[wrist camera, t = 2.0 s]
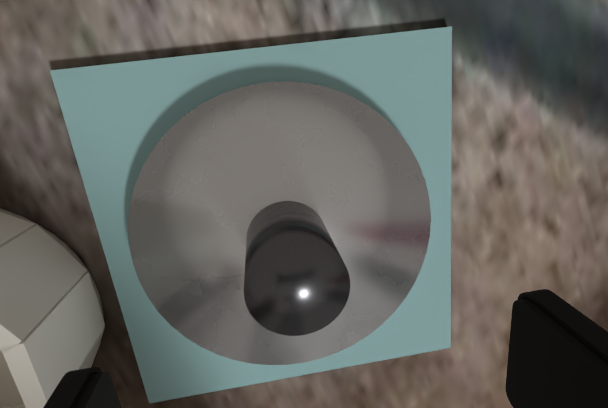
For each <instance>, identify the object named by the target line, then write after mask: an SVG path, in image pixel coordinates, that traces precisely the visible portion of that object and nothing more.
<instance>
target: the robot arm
mask: <svg viewBox="0 0 608 408" xmlns="http://www.w3.org/2000/svg"><path fill="white" fill-rule="evenodd" d="M506 393H507V397H508V399H509V401H510V403H511V404H512V406H513V407H514V408H608V332H607V331H606V330H604V329H603V328H602V327H600V326H599V325H597V324H596V323H595V322H593V321H592V320H590V319H589V318H588V317H586V316H585V315H584V314H582V313H581V312H579V311H578V310H577V309H575V308H574V307H572V306H571V305H570V304H568V303H567V302H566V301H564V300H563V299H561V298H560V297H559V296H557V295H556V294H555V293H553V292H552V291H550V290H547V289H542V290H537V291H531V292H525V293H522V294H520V295H519V297H518V300H517V301H515V302H514V303H513V308H512V319H511V331H510V343H509V354H508V366H507V378H506ZM43 408H121V405H120V403H119V400H118V397H117V394H116V391H115V388H114V385H113V383H112V380H111V377H110V375H109V374H108V373H107V372H103V373H102V371H101V369H100V368H98V367H91V368H85V369H79V370H73V371H69V372H67V373H66V374H65V375H64V376H63V377H62V379H61V381H60V382H59V384H58V385H57V387H56V388H55V390H54V392H53V393H52V395H51V396H50V398H49V399H48V401H47V403H46V404H45V406H44V407H43Z"/></svg>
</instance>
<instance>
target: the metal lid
mask: <svg viewBox="0 0 608 408" xmlns="http://www.w3.org/2000/svg"><path fill="white" fill-rule="evenodd" d="M430 225H431V211H430V199H429V194H428V190H427V186H426V181H425V178H424V176H423V173H422V170H421V168H420V165H419V163H418V161H417V159H416V157H415V155H414V154H413V152H412V150H411V148H410V147H409V145H408V144H407V143H406V141H405V140H404V139H403V137H402V136H401V135H400V133H399V132H398V131H397V130H396V129H395V128H394V127H393V126H392V125H391V124H390V123H389V122H388V121H387V120H386V119H385V118H384V117H383V116H382V115H380V114H379V113H378V112H376V111H375V110H374V109H372V108H371V107H370V106H368V105H366V104H365V103H363V102H361V101H359V100H357V99H356V98H354V97H352V96H350V95H348V94H345V93H342V92H340V91H337V90H334V89H332V88H328V87H324V86H320V85H315V84H311V83H302V82H291V81H281V82H264V83H259V84H253V85H248V86H243V87H240V88H237V89H234V90H231V91H228V92H225V93H222V94H220V95H218V96H216V97H214V98H212V99H210V100H208V101H206V102H204V103H202V104H200V105H199V106H198V107H196V108H195V109H193V110H192V111H190V112H189V113H187V114H186V115H185V116H183V117H182V118H181V119H180V120H179V121H178V122H177V123H176V124H174V125H173V126H172V127H171V128H170V129H169V130H168V131H167V132H166V133H165V135H164V136H163V137H162V138H161V139H160V141H159V142H158V143H157V144H156V146H155V147H154V148H153V150H152V151H151V153H150V155H149V156H148V158H147V160H146V161H145V163H144V165H143V167H142V169H141V171H140V174H139V176H138V179H137V181H136V184H135V186H134V190H133V194H132V199H131V203H130V209H129V219H128V235H129V247H130V252H131V257H132V262H133V265H134V268H135V271H136V274H137V276H138V279H139V282H140V284H141V286H142V287H143V289H144V291H145V293H146V295H147V297H148V298H149V300H150V301H151V303H152V304H153V305H154V307H155V308H156V310H157V311H158V312H159V313H160V315H161V316H162V317H163V318H164V319H165V320H166V321H167V322H168V323H169V324H170V325H171V326H172V327H173V328H174V329H176V330H177V331H178V332H179V333H181V334H182V335H183V336H184V337H186V338H187V339H189V340H190V341H192V342H194V343H195V344H197V345H198V346H200V347H202V348H204V349H206V350H208V351H211V352H213V353H215V354H217V355H220V356H223V357H226V358H229V359H232V360H236V361H241V362H246V363H251V364H261V365H289V364H297V363H304V362H309V361H313V360H317V359H321V358H324V357H327V356H329V355H332V354H335V353H338V352H340V351H342V350H344V349H346V348H348V347H350V346H352V345H354V344H356V343H357V342H359V341H360V340H362V339H364V338H365V337H367V336H368V335H370V334H371V333H372V332H373V331H375V330H376V329H377V328H378V327H380V326H381V325H382V324H383V323H384V322H385V321H386V320H387V319H388V318H389V317H390V316H391V315H392V314H393V313H394V312H395V311H396V310H397V308H398V307H399V306H400V305H401V303H402V302H403V301H404V300H405V298H406V297H407V295H408V293H409V292H410V290H411V288H412V287H413V285H414V283H415V281H416V279H417V277H418V275H419V273H420V270H421V268H422V265H423V262H424V259H425V256H426V253H427V248H428V243H429V237H430Z"/></svg>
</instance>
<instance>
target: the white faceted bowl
mask: <svg viewBox="0 0 608 408" xmlns="http://www.w3.org/2000/svg"><path fill="white" fill-rule="evenodd" d="M104 326H105V323H104V313H103V306H102V301H101V297H100V294H99V291H98V289H97V286H96V284H95V281H94V280H93V278H92V276H91V274H90V273H89V271H88V269H87V268H86V266H85V265H84V264H83V262H82V261H81V260H80V258H79V257H78V256H77V255H76V254H75V253H74V252H73V251H72V250H71V249H70V248H69V247H68V246H67V245H66V244H65V243H64V242H63V241H61V240H60V239H59V238H58V237H56V236H55V235H54V234H53V233H51V232H49V231H48V230H46V229H45V228H43V227H42V226H40V225H39V224H37V223H35V222H33V221H31V220H29V219H27V218H25V217H23V216H20V215H18V214H15V213H12V212H10V211H7V210H4V209H0V408H43V407H44V406H45V404H46V403H47V401H48V399H49V398H50V396H51V395H52V393H53V392H54V390H55V388H56V387H57V385H58V384H59V382H60V381H61V379H62V377H63V376H64V375H65V374H66V373H67V372H69V371H73V370H79V369H85V368H91V367H92V364H93V361H94V358H95V356H96V354H97V352H98V349H99V347H100V344H101V340H102V336H103V332H104V329H105V327H104Z"/></svg>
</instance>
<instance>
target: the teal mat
mask: <svg viewBox="0 0 608 408" xmlns="http://www.w3.org/2000/svg"><path fill="white" fill-rule="evenodd" d="M50 72H51V76H52V79H53V82H54V86H55V89H56V93H57V96H58V99H59V103H60V106H61V109H62V113H63V116H64V119H65V123H66V126H67V129H68V133H69V136H70V139H71V143H72V146H73V150H74V153H75V156H76V160H77V163H78V166H79V170H80V173H81V176H82V180H83V183H84V186H85V190H86V193H87V197H88V200H89V203H90V207H91V210H92V213H93V217H94V220H95V223H96V227H97V230H98V233H99V237H100V240H101V243H102V247H103V250H104V254H105V257H106V260H107V264H108V267H109V270H110V274H111V277H112V280H113V284H114V287H115V290H116V294H117V297H118V301H119V304H120V307H121V311H122V314H123V317H124V321H125V324H126V327H127V331H128V334H129V337H130V341H131V344H132V347H133V351H134V354H135V358H136V361H137V364H138V368H139V371H140V374H141V378H142V381H143V384H144V388H145V391H146V394H147V398H148V401H149V403H155V402H160V401H166V400H171V399H176V398H182V397H187V396H192V395H198V394H203V393H209V392H214V391H219V390H225V389H230V388H236V387H241V386H246V385H252V384H257V383H262V382H268V381H273V380H279V379H284V378H289V377H295V376H300V375H306V374H311V373H316V372H322V371H327V370H333V369H338V368H343V367H349V366H354V365H359V364H365V363H370V362H376V361H381V360H386V359H392V358H397V357H403V356H408V355H413V354H419V353H424V352H429V351H435V350H440V349H446V348H451V111H452V27H443V28H433V29H424V30H415V31H406V32H397V33H388V34H379V35H370V36H360V37H351V38H342V39H333V40H324V41H315V42H306V43H297V44H287V45H278V46H269V47H260V48H251V49H242V50H233V51H224V52H214V53H205V54H196V55H187V56H178V57H169V58H160V59H151V60H141V61H132V62H123V63H114V64H105V65H96V66H87V67H78V68H68V69H59V70H50ZM281 81H291V82H302V83H311V84H315V85H320V86H324V87H328V88H332V89H334V90H337V91H340V92H342V93H345V94H348V95H350V96H352V97H354V98H356V99H357V100H359V101H361V102H363V103H365V104H366V105H368V106H370V107H371V108H372V109H374V110H375V111H376V112H378V113H379V114H380V115H382V116H383V117H384V118H385V119H386V120H387V121H388V122H389V123H390V124H391V125H392V126H393V127H394V128H395V129H396V130H397V131H398V132H399V133H400V135H401V136H402V137H403V139H404V140H405V141H406V143H407V144H408V145H409V147H410V148H411V150H412V152H413V154H414V155H415V157H416V159H417V161H418V163H419V165H420V168H421V170H422V173H423V176H424V178H425V181H426V186H427V190H428V194H429V199H430V211H431V225H430V237H429V243H428V248H427V253H426V256H425V259H424V262H423V265H422V268H421V270H420V273H419V275H418V277H417V279H416V281H415V283H414V285H413V287H412V288H411V290H410V292H409V293H408V295H407V297H406V298H405V300H404V301H403V302H402V303H401V305H400V306H399V307H398V308H397V310H396V311H395V312H394V313H393V314H392V315H391V316H390V317H389V318H388V319H387V320H386V321H385V322H384V323H383V324H382V325H381V326H380V327H378V328H377V329H376V330H375V331H373V332H372V333H371V334H370V335H368V336H367V337H365V338H364V339H362V340H360V341H359V342H357V343H356V344H354V345H352V346H350V347H348V348H346V349H344V350H342V351H340V352H338V353H335V354H332V355H329V356H327V357H324V358H321V359H317V360H313V361H309V362H304V363H297V364H289V365H261V364H251V363H246V362H241V361H236V360H232V359H229V358H226V357H223V356H220V355H217V354H215V353H213V352H211V351H208V350H206V349H204V348H202V347H200V346H198V345H197V344H195V343H194V342H192V341H190V340H189V339H187V338H186V337H184V336H183V335H182V334H181V333H179V332H178V331H177V330H176V329H174V328H173V327H172V326H171V325H170V324H169V323H168V322H167V321H166V320H165V319H164V318H163V317H162V316H161V315H160V313H159V312H158V311H157V310H156V308H155V307H154V305H153V304H152V303H151V301H150V300H149V298H148V297H147V295H146V293H145V291H144V289H143V287H142V286H141V284H140V282H139V279H138V276H137V274H136V271H135V268H134V265H133V262H132V257H131V252H130V247H129V235H128V219H129V209H130V203H131V199H132V194H133V190H134V186H135V184H136V181H137V179H138V176H139V174H140V171H141V169H142V167H143V165H144V163H145V161H146V160H147V158H148V156H149V155H150V153H151V151H152V150H153V148H154V147H155V146H156V144H157V143H158V142H159V141H160V139H161V138H162V137H163V136H164V135H165V133H166V132H167V131H168V130H169V129H170V128H171V127H172V126H173V125H174V124H176V123H177V122H178V121H179V120H180V119H181V118H182V117H183V116H185V115H186V114H187V113H189V112H190V111H192V110H193V109H195V108H196V107H198V106H199V105H200V104H202V103H204V102H206V101H208V100H210V99H212V98H214V97H216V96H218V95H220V94H222V93H225V92H228V91H231V90H234V89H237V88H240V87H243V86H248V85H253V84H259V83H264V82H281Z"/></svg>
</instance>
